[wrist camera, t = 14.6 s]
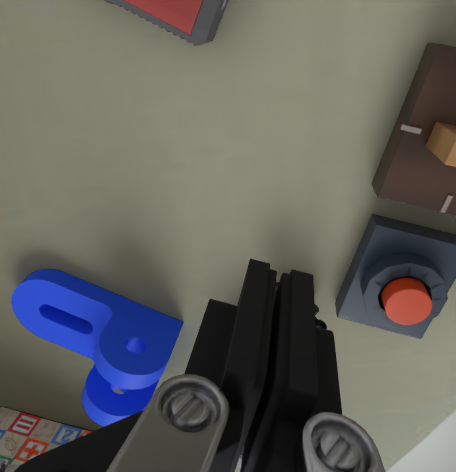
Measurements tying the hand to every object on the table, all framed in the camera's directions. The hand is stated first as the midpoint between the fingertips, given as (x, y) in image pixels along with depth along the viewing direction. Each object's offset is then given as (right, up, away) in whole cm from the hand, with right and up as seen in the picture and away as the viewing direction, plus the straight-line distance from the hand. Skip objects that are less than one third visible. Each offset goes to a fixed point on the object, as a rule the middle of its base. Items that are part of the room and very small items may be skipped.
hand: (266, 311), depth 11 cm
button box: (+14, -1, +27) cm, 30 cm away
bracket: (-16, -7, +35) cm, 39 cm away
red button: (+14, -3, +23) cm, 27 cm away
